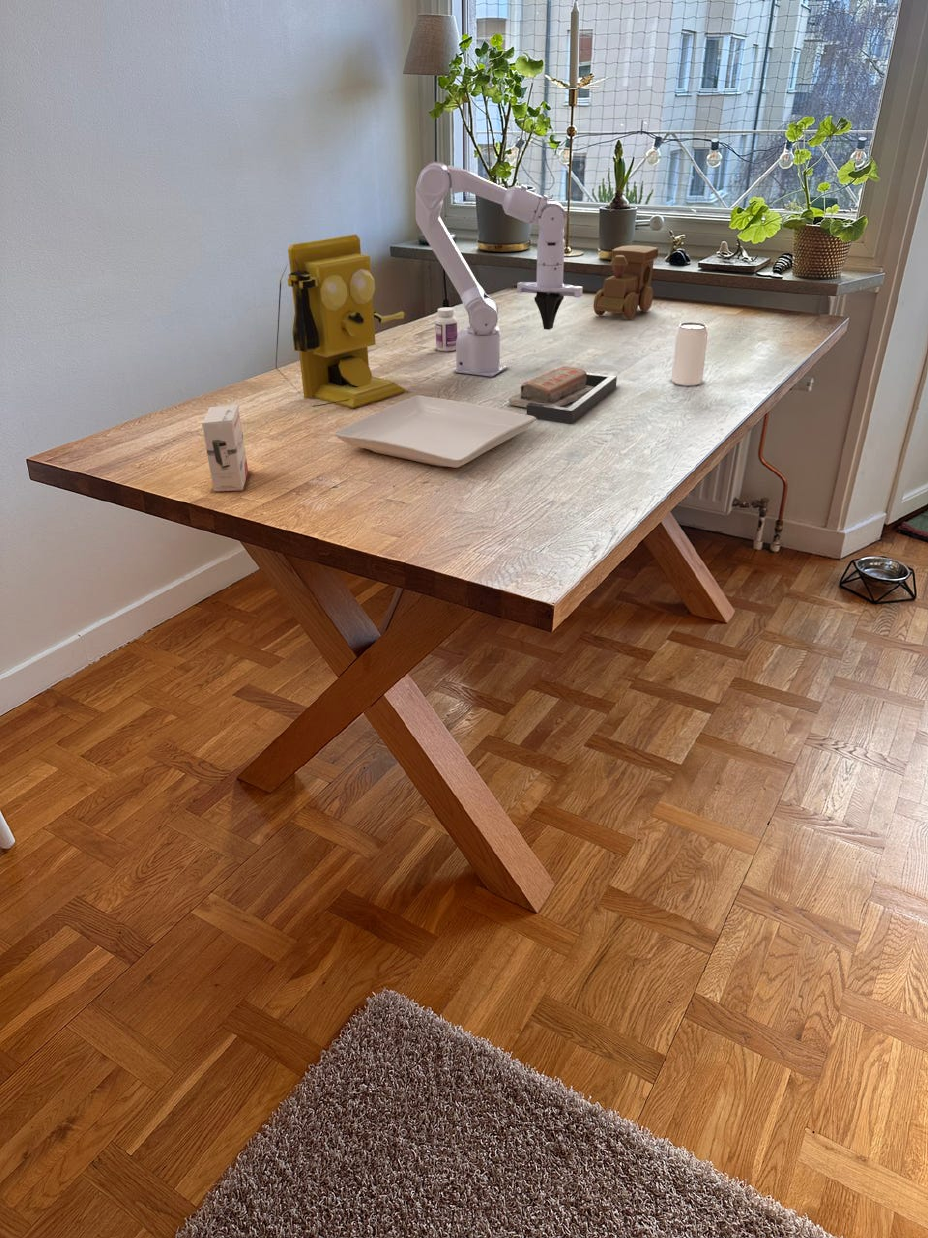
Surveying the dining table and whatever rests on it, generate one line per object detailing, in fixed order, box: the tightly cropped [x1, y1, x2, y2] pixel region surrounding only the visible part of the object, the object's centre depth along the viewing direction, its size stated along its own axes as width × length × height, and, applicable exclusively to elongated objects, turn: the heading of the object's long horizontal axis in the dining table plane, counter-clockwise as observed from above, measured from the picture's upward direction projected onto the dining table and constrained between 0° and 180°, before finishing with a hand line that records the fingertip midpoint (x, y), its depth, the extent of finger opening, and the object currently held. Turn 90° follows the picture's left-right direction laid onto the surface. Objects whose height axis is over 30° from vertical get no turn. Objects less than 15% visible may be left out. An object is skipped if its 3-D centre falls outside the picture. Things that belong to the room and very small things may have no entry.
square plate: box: [332, 394, 537, 469], centre depth 162 cm, size 27×27×4 cm
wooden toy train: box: [593, 244, 659, 320], centre depth 248 cm, size 20×11×17 cm, turn 147°
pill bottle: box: [434, 306, 459, 352], centre depth 219 cm, size 5×5×10 cm
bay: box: [525, 372, 618, 424], centre depth 182 cm, size 10×26×2 cm, turn 153°
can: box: [671, 321, 709, 387], centre depth 191 cm, size 6×6×12 cm
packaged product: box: [508, 366, 595, 409], centre depth 184 cm, size 18×5×10 cm
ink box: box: [201, 404, 249, 492], centre depth 146 cm, size 9×5×12 cm, turn 5°
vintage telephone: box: [275, 234, 407, 410], centre depth 181 cm, size 31×14×30 cm, turn 137°
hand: (548, 328), depth 198 cm, fingers closed
